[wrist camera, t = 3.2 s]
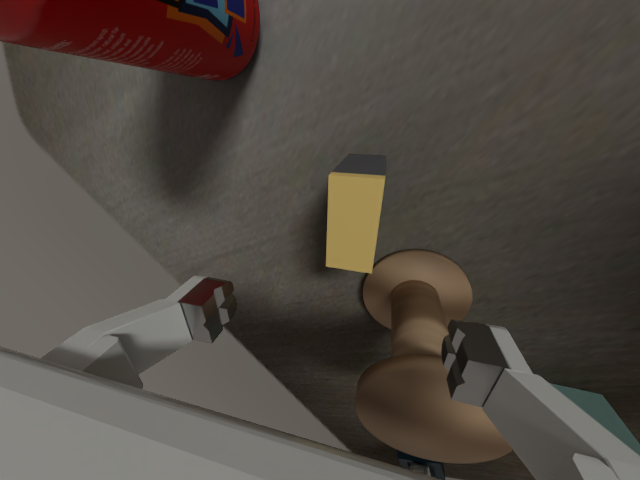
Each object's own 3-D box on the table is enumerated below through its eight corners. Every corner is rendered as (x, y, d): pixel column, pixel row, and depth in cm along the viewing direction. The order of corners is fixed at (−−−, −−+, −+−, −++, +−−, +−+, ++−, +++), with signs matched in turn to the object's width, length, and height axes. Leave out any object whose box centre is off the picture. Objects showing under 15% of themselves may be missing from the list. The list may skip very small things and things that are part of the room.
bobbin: (369, 242, 23) (353, 346, 13) (484, 257, 21) (576, 394, 11) (359, 318, 28) (342, 438, 18) (453, 336, 26) (496, 484, 15)
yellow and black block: (349, 153, 20) (328, 175, 13) (386, 155, 19) (385, 179, 12) (344, 220, 23) (325, 266, 16) (376, 223, 22) (371, 273, 15)
